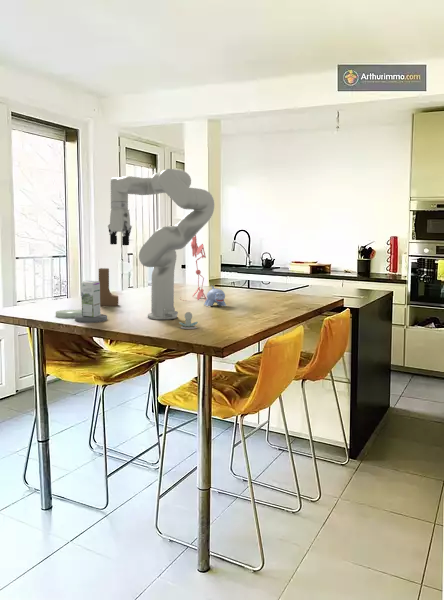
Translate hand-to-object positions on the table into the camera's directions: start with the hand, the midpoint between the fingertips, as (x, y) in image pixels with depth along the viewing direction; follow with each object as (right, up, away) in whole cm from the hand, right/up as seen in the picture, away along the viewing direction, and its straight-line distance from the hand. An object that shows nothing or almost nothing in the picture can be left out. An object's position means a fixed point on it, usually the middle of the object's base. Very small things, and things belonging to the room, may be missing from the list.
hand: (119, 244), depth 238 cm
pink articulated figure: (+30, -24, +51) cm, 64 cm away
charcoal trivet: (-8, -33, -18) cm, 39 cm away
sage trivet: (-19, -32, -9) cm, 38 cm away
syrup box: (-8, -32, -18) cm, 37 cm away
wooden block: (-10, -28, +22) cm, 36 cm away
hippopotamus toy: (+43, -28, +27) cm, 58 cm away
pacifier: (+33, -36, -31) cm, 58 cm away
